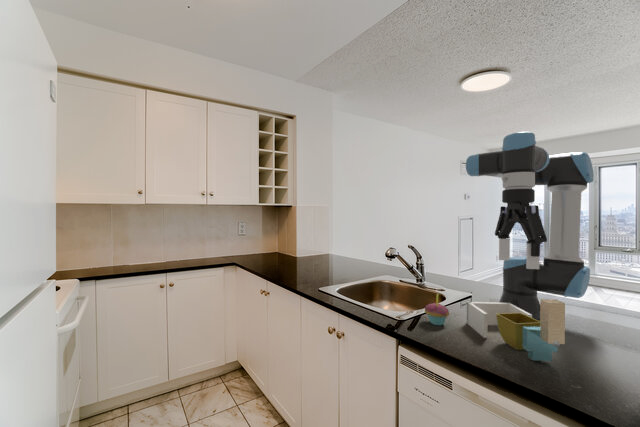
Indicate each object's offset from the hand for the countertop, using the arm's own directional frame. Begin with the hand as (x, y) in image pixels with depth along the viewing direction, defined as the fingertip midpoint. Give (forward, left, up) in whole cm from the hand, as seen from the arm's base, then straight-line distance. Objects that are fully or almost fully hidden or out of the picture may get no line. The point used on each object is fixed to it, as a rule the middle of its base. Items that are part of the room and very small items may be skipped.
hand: (517, 264), depth 81 cm
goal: (-6, -20, -27) cm, 34 cm away
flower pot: (-6, -9, -27) cm, 29 cm away
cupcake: (+13, -26, -27) cm, 40 cm away
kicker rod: (-6, +3, -26) cm, 27 cm away
